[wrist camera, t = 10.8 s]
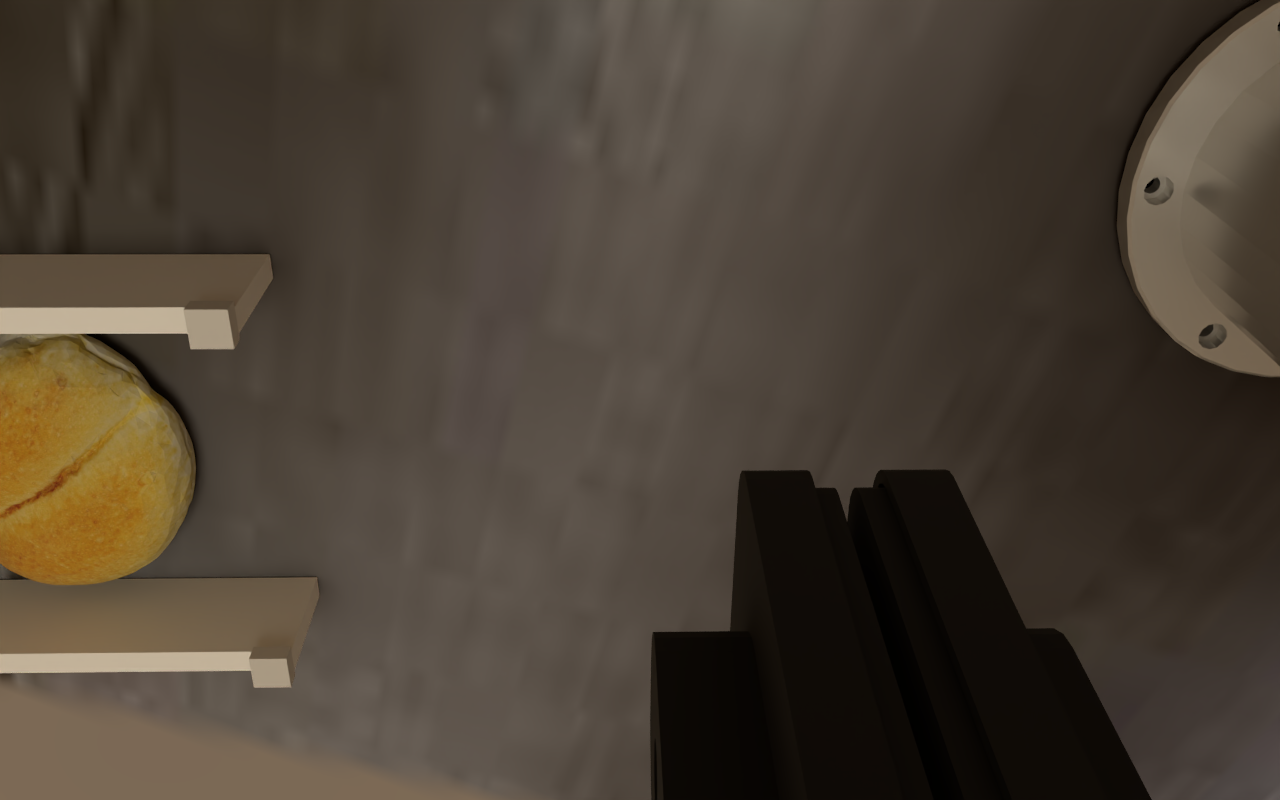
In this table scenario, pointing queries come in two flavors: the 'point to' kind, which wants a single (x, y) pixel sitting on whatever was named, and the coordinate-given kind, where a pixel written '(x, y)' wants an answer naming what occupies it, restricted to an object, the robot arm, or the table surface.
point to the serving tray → (147, 608)
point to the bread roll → (85, 462)
